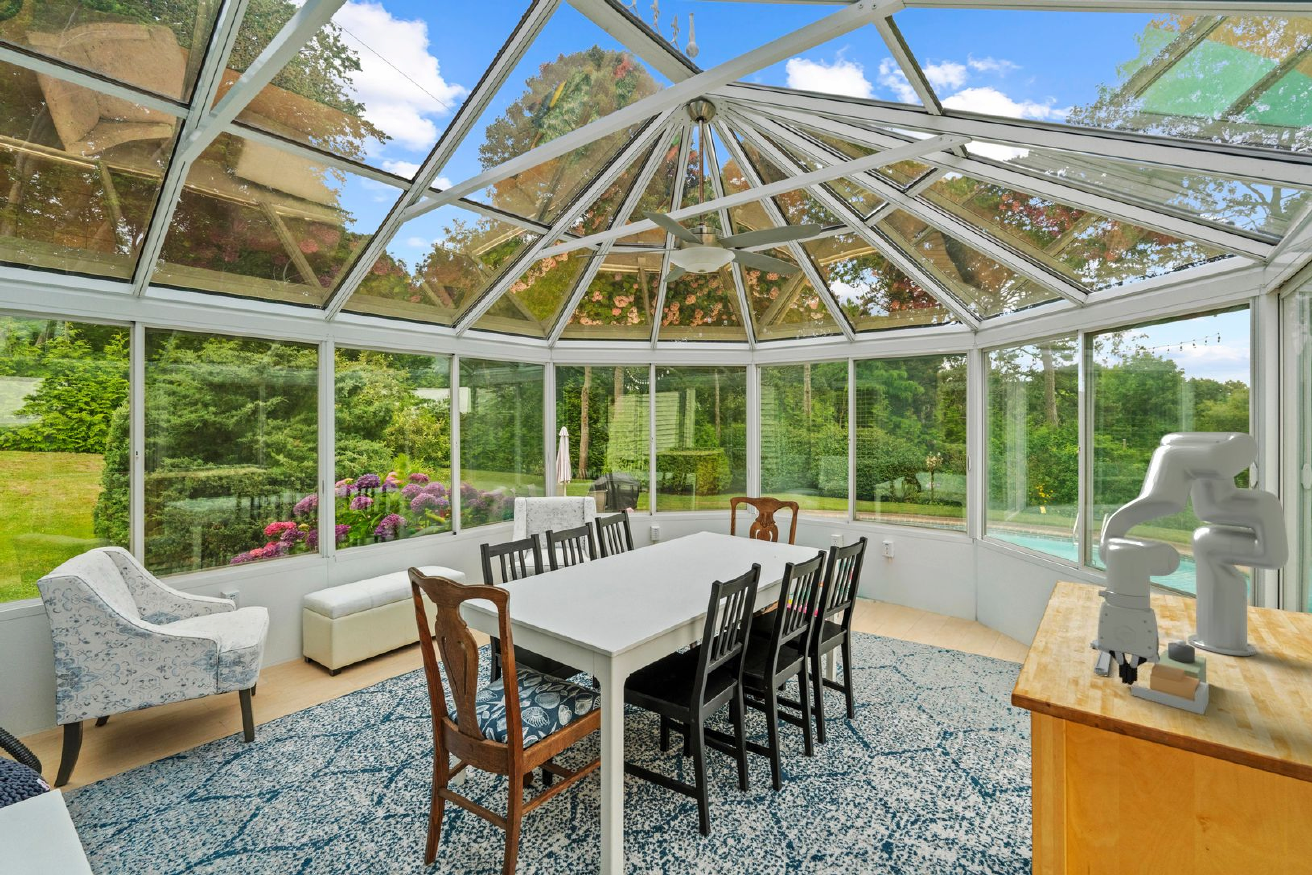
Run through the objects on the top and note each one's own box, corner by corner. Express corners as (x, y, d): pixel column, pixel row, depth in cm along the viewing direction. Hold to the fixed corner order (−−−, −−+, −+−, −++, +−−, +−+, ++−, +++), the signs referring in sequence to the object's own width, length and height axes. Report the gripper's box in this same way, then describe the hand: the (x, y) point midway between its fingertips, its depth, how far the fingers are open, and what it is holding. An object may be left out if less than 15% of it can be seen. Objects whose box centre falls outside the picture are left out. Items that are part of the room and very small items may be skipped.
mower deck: (1151, 669, 137) (1151, 628, 136) (1216, 684, 128) (1216, 641, 128) (1131, 695, 124) (1131, 650, 123) (1202, 714, 115) (1202, 666, 115)
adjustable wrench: (1107, 679, 133) (1107, 672, 133) (1073, 671, 137) (1073, 664, 137) (1124, 649, 150) (1124, 642, 150) (1094, 643, 155) (1094, 636, 155)
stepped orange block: (1155, 691, 125) (1155, 662, 125) (1199, 702, 120) (1199, 672, 120) (1150, 698, 122) (1150, 668, 122) (1194, 710, 117) (1194, 679, 117)
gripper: (1082, 596, 131) (1082, 676, 131) (1169, 611, 119) (1169, 699, 119) (1090, 590, 135) (1091, 667, 136) (1175, 604, 124) (1176, 688, 124)
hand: (1128, 682), depth 127 cm, fingers closed
